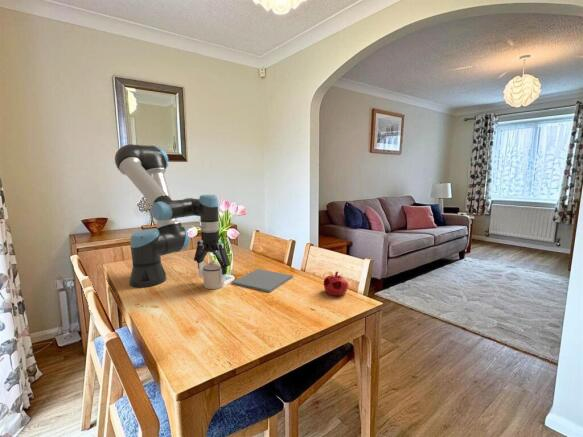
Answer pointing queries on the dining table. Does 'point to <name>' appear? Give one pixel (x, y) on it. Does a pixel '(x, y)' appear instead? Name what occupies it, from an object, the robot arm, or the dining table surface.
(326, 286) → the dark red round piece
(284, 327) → the dining table surface
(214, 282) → the teacup with lid
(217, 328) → the dining table surface
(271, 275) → the slate tile
